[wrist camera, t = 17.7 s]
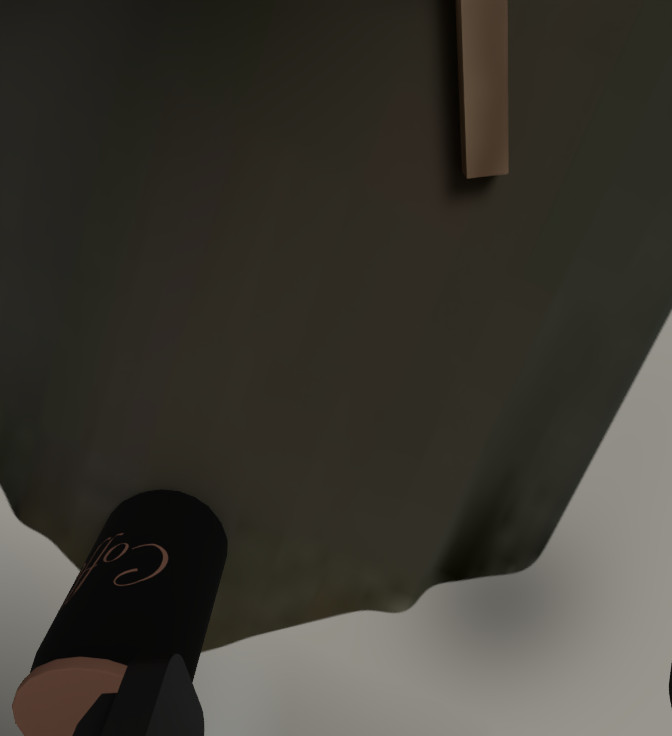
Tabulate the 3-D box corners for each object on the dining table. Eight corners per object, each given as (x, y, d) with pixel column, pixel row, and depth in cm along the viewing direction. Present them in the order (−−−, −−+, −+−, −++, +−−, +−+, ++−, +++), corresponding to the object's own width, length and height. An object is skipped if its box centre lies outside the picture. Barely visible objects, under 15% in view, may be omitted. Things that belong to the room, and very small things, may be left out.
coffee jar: (197, 468, 54) (124, 652, 38) (250, 559, 58) (205, 757, 42) (88, 501, 56) (-23, 688, 40) (147, 586, 60) (68, 785, 44)
